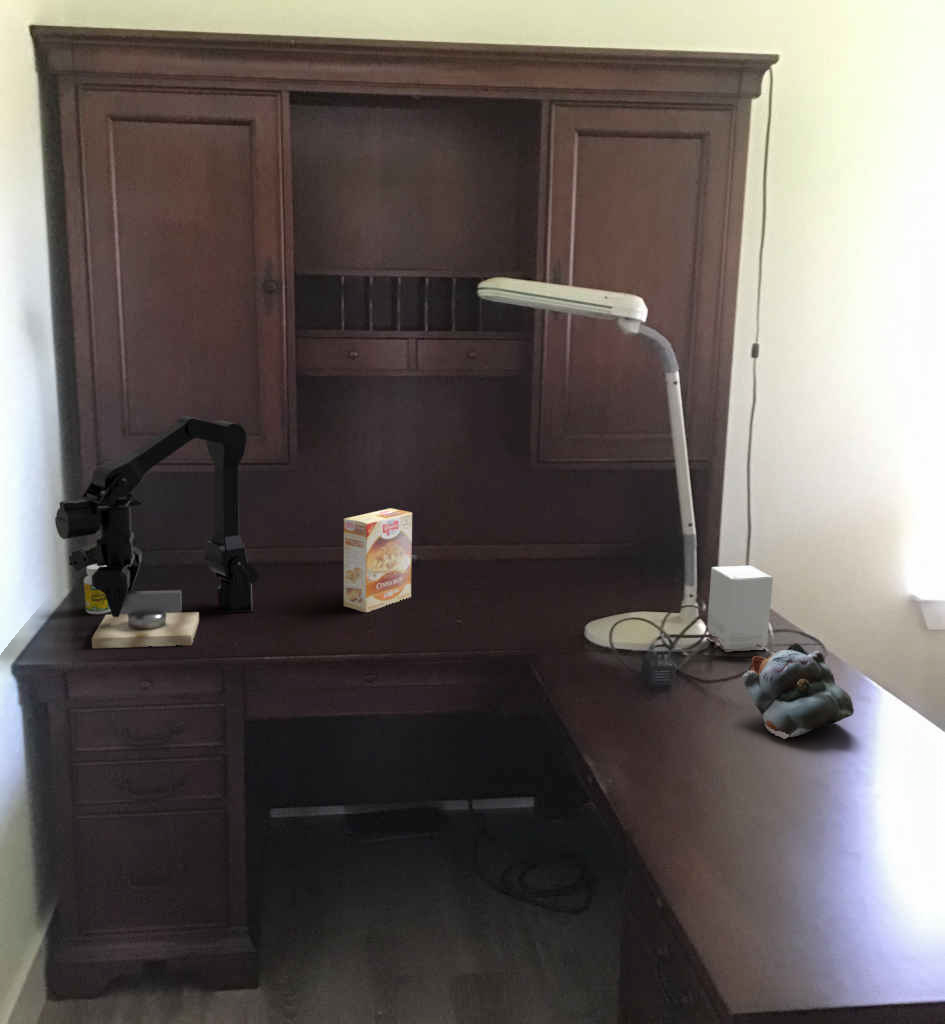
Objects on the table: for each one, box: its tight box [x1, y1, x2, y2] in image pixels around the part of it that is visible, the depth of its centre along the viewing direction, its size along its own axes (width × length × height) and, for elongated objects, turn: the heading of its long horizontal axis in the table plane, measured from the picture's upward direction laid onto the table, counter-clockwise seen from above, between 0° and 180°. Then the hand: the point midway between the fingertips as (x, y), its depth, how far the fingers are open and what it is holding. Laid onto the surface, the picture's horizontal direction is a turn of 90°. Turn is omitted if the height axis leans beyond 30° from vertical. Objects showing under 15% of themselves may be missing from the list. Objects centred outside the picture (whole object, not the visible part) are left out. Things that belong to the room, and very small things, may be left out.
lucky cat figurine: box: [741, 642, 855, 738], centre depth 162 cm, size 15×12×14 cm
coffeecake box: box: [343, 507, 413, 613], centre depth 219 cm, size 15×7×20 cm, turn 143°
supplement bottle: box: [83, 563, 111, 615], centre depth 209 cm, size 5×5×10 cm
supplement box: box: [706, 565, 774, 649], centre depth 198 cm, size 9×9×15 cm
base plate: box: [91, 611, 200, 649], centre depth 197 cm, size 18×14×2 cm
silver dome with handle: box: [110, 589, 183, 630], centre depth 196 cm, size 13×7×7 cm, turn 99°
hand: (120, 609), depth 195 cm, fingers open, 9 cm apart
